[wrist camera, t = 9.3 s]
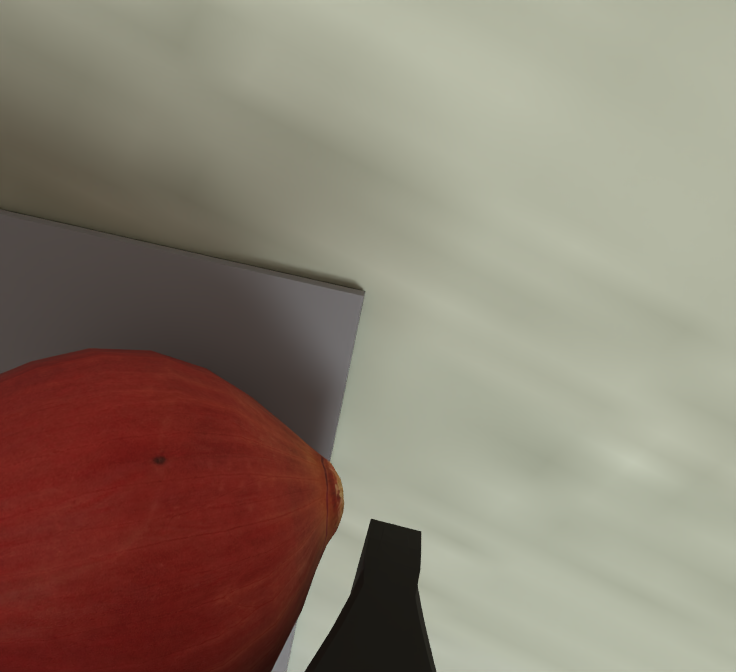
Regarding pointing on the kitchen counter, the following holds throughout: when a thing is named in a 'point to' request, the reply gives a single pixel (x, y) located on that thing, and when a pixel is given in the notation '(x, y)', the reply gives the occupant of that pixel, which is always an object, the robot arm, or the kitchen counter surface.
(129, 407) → the onion
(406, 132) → the kitchen counter surface
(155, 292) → the letter mat
